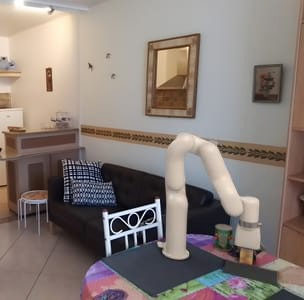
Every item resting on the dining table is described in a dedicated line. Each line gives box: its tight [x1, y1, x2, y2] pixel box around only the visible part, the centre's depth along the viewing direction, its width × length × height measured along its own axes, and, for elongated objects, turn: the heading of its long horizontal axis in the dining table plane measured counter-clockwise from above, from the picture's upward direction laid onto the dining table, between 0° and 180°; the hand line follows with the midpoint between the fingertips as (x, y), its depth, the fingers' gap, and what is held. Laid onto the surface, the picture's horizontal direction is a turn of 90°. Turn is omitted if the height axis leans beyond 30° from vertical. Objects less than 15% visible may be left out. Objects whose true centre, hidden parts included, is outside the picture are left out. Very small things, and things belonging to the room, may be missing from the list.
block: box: [239, 247, 253, 266], centre depth 148 cm, size 5×5×5 cm
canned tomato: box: [214, 223, 234, 252], centre depth 162 cm, size 8×8×11 cm
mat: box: [222, 260, 278, 286], centre depth 139 cm, size 20×12×1 cm, turn 57°
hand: (246, 260), depth 149 cm, fingers closed on block, 5 cm apart
